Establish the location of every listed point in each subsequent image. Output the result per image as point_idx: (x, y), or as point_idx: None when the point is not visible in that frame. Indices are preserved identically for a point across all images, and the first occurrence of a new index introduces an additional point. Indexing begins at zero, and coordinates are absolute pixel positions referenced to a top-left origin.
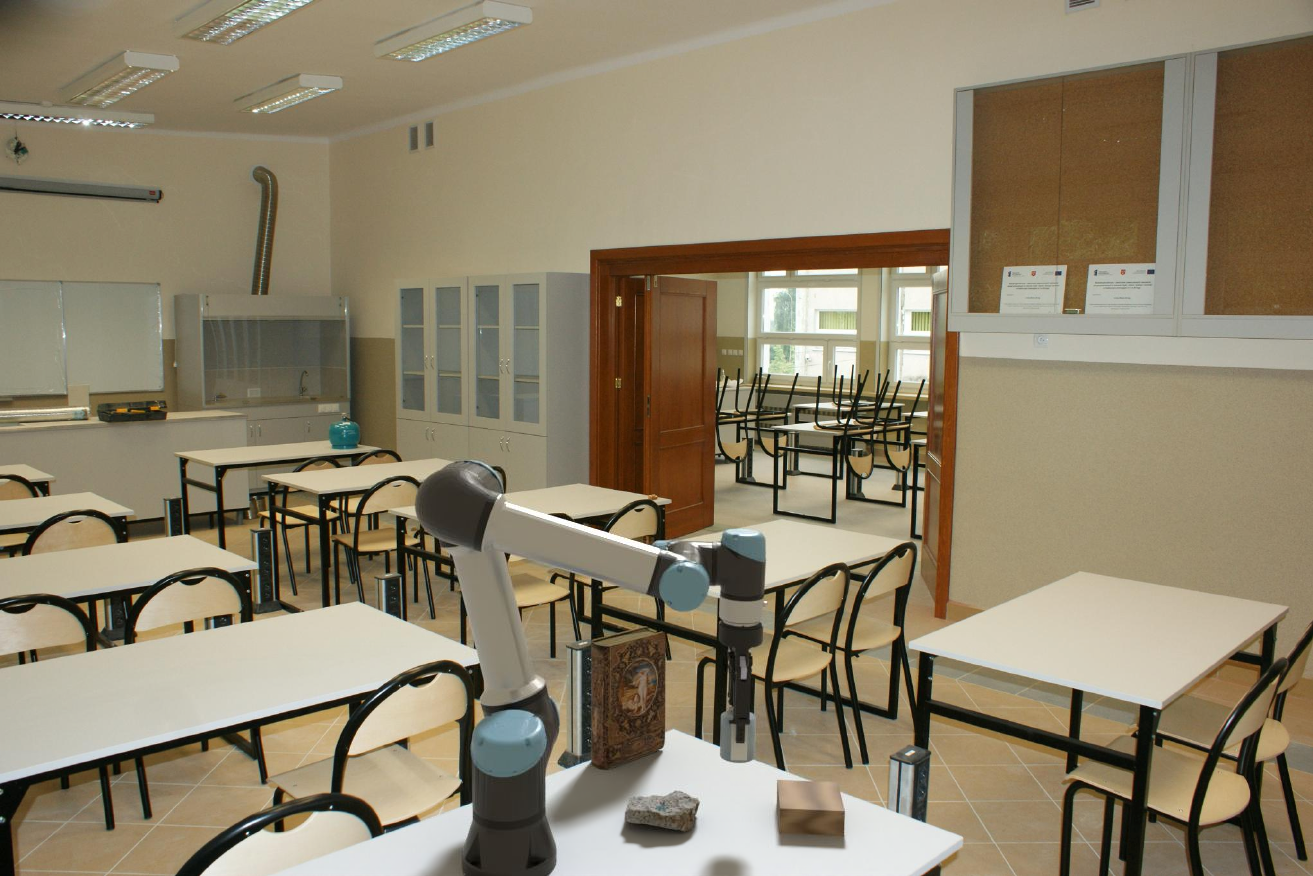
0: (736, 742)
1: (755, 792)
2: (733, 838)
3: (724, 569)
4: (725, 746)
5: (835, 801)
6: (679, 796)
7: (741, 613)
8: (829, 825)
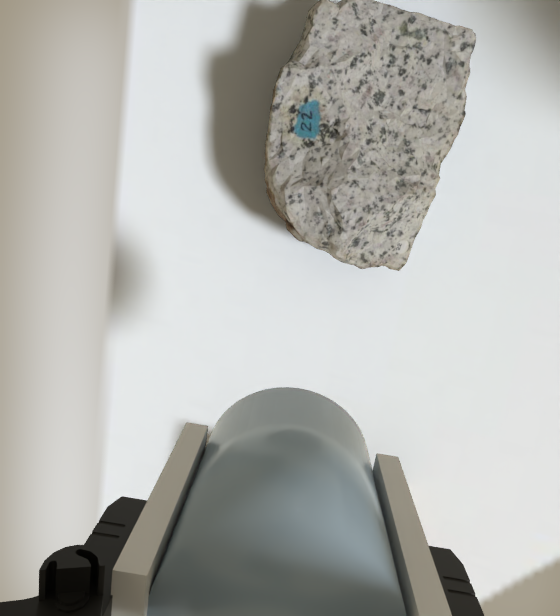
0: (118, 501)
1: (485, 450)
2: (243, 329)
3: None
4: (232, 432)
5: None
6: (339, 193)
7: None
8: None
